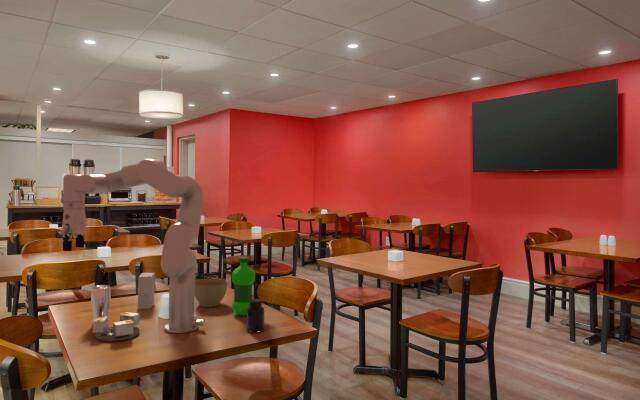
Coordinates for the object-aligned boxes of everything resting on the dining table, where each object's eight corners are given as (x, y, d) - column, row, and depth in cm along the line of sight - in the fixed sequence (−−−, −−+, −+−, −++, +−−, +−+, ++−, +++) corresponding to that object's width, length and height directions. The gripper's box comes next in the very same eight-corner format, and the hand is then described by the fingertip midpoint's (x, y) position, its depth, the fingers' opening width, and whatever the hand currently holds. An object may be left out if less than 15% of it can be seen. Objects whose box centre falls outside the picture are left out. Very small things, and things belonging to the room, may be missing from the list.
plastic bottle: (250, 318, 194) (251, 260, 193) (227, 316, 196) (228, 259, 195) (257, 312, 204) (259, 256, 203) (235, 310, 205) (236, 255, 204)
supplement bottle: (257, 326, 184) (257, 297, 183) (267, 330, 179) (268, 300, 178) (243, 330, 179) (243, 299, 178) (253, 334, 174) (254, 303, 174)
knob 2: (112, 335, 165) (113, 321, 164) (130, 332, 168) (130, 318, 168) (116, 338, 162) (116, 324, 162) (133, 335, 166) (133, 321, 165)
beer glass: (102, 327, 178) (102, 289, 177) (86, 326, 179) (87, 288, 178) (114, 322, 184) (114, 285, 184) (98, 320, 186) (99, 284, 185)
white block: (108, 328, 172) (108, 315, 172) (103, 334, 166) (103, 320, 166) (97, 329, 171) (97, 315, 171) (92, 334, 165) (93, 320, 165)
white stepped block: (132, 328, 173) (132, 315, 172) (119, 326, 175) (120, 313, 174) (139, 326, 176) (139, 313, 176) (126, 324, 178) (126, 311, 178)
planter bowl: (232, 301, 220) (233, 279, 220) (217, 310, 204) (218, 286, 204) (202, 299, 224) (202, 277, 223) (185, 307, 208) (185, 284, 208)
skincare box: (141, 304, 212) (141, 272, 211) (155, 304, 213) (155, 272, 212) (137, 309, 203) (137, 276, 203) (151, 309, 204) (151, 276, 204)
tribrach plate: (146, 329, 177) (146, 324, 177) (127, 343, 162) (127, 337, 162) (109, 327, 178) (109, 322, 178) (86, 341, 163) (86, 335, 163)
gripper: (72, 207, 171) (72, 252, 172) (93, 204, 188) (93, 246, 189) (52, 206, 171) (51, 252, 172) (75, 204, 188) (75, 245, 189)
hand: (73, 249), depth 180 cm, fingers open, 9 cm apart
